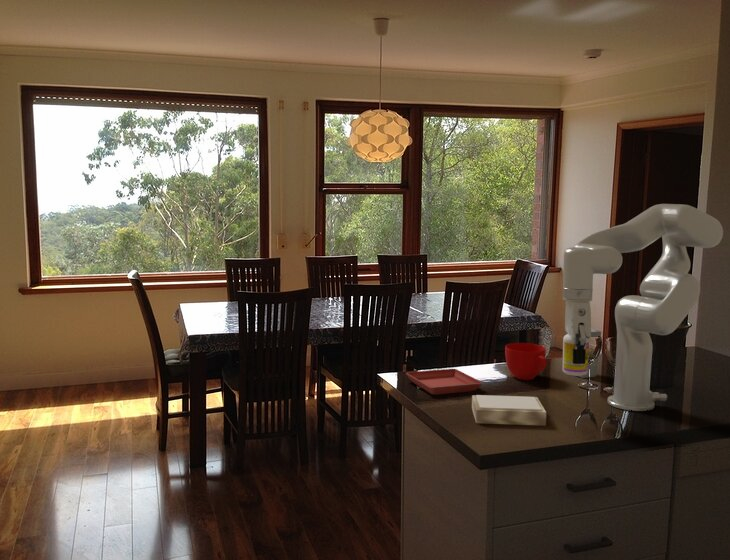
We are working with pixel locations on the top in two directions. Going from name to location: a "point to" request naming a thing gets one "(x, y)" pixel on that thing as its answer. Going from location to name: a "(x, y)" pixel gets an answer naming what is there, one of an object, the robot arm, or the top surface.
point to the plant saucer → (444, 381)
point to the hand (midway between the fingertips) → (575, 359)
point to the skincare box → (594, 364)
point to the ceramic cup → (525, 359)
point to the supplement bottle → (568, 357)
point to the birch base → (508, 410)
